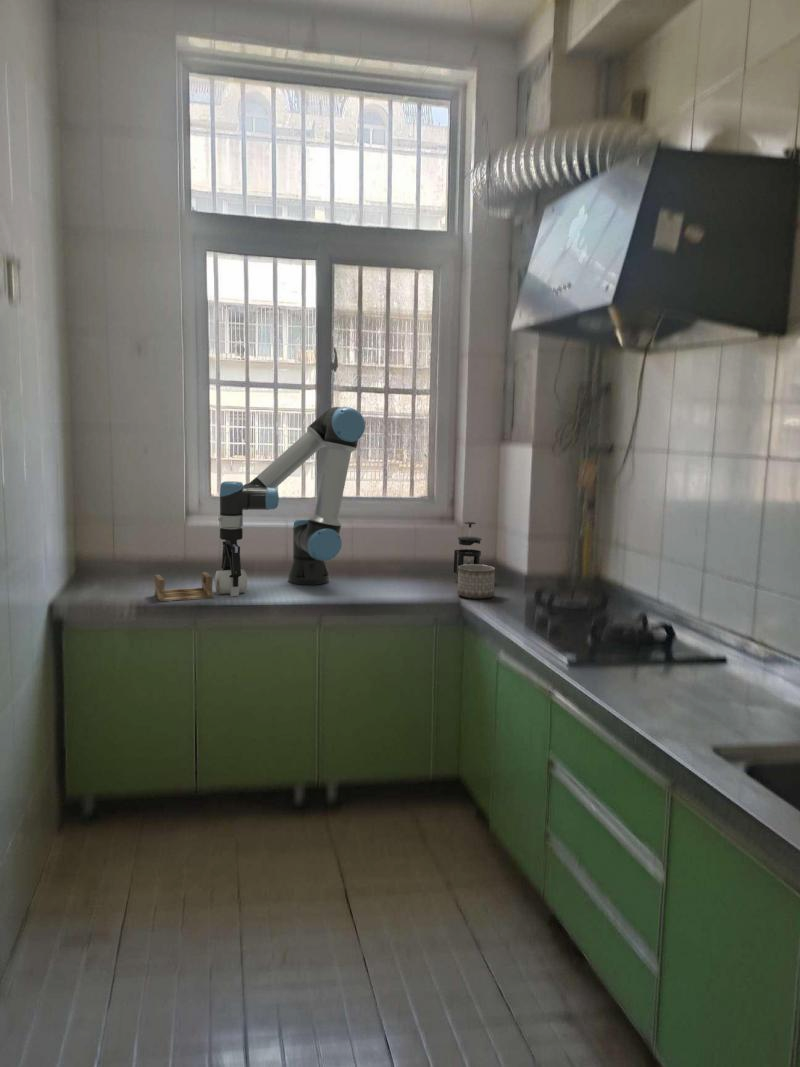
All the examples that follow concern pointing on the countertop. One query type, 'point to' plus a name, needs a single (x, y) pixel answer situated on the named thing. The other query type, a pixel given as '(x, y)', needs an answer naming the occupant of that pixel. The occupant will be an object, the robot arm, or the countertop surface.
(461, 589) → the planter
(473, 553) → the french press
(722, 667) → the countertop surface
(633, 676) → the countertop surface
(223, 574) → the roll
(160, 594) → the holder
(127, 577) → the countertop surface
